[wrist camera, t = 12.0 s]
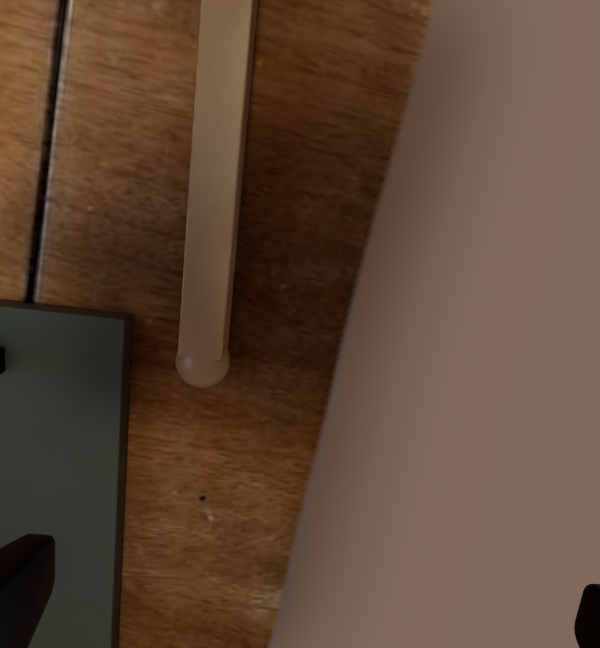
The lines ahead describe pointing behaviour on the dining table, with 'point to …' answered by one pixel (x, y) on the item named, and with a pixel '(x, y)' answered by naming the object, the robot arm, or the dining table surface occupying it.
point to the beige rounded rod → (215, 187)
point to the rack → (67, 458)
